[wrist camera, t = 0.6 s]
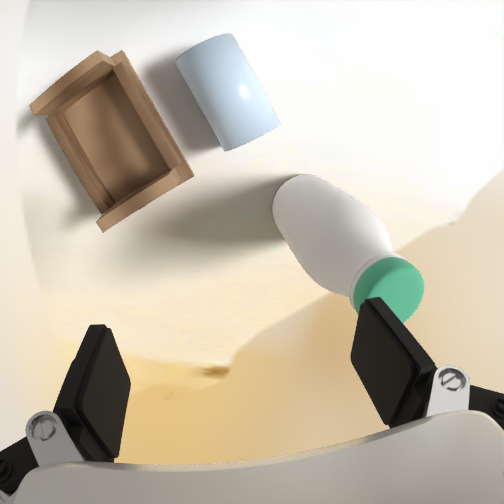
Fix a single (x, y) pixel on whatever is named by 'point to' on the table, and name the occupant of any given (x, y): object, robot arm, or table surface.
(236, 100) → the cylinder
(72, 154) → the holder
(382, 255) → the milk bottle
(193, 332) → the table surface
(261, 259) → the table surface
